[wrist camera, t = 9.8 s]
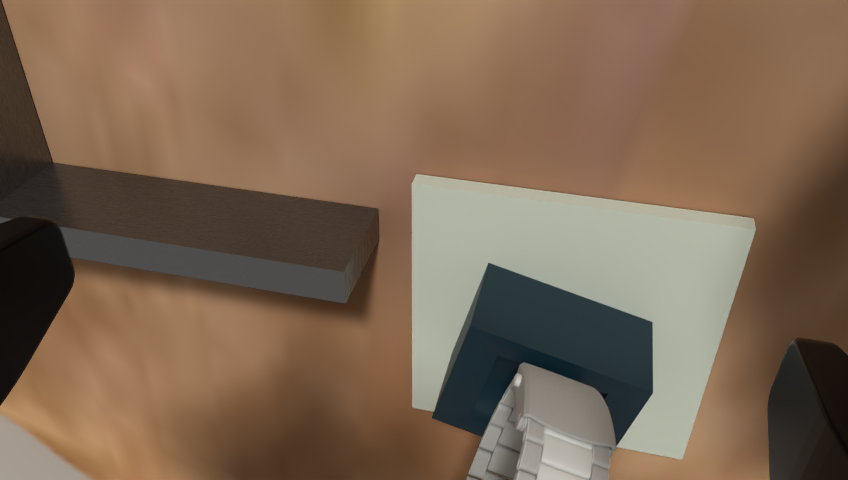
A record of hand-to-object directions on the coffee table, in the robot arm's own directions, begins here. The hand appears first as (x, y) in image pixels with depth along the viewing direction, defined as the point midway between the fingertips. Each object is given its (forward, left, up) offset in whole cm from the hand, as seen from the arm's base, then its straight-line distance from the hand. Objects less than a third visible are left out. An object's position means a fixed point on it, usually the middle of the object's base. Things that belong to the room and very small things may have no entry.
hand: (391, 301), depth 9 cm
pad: (-2, +11, -13) cm, 17 cm away
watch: (-2, +11, -13) cm, 17 cm away
